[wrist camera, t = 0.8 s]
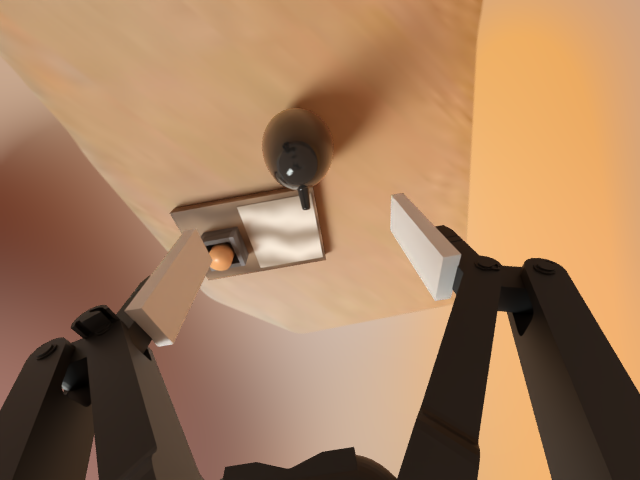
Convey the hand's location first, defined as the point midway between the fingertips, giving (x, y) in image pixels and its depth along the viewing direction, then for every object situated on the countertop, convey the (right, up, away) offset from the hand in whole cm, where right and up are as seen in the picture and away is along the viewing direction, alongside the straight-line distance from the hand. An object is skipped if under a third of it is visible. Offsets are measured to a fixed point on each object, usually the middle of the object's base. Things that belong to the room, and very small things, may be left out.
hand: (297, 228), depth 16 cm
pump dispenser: (-2, +15, +22) cm, 27 cm away
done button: (-16, -3, +27) cm, 31 cm away
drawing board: (-11, +1, +30) cm, 32 cm away
